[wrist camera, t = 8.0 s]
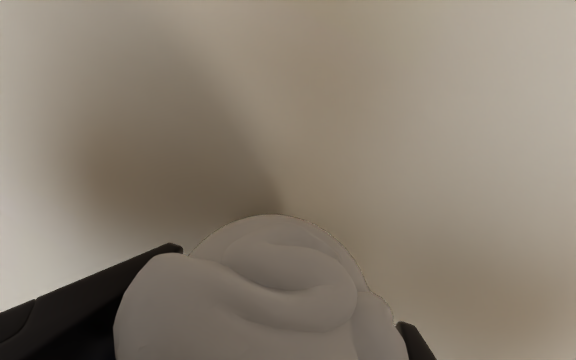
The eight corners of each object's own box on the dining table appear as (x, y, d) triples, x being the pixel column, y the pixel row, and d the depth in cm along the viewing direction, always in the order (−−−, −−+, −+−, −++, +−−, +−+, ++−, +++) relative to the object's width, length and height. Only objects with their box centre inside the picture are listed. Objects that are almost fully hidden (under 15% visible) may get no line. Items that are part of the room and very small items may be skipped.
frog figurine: (269, 353, 12) (171, 678, 6) (164, 203, 10) (-132, 449, 4) (430, 320, 10) (538, 783, 4) (333, 122, 8) (234, 397, 2)
